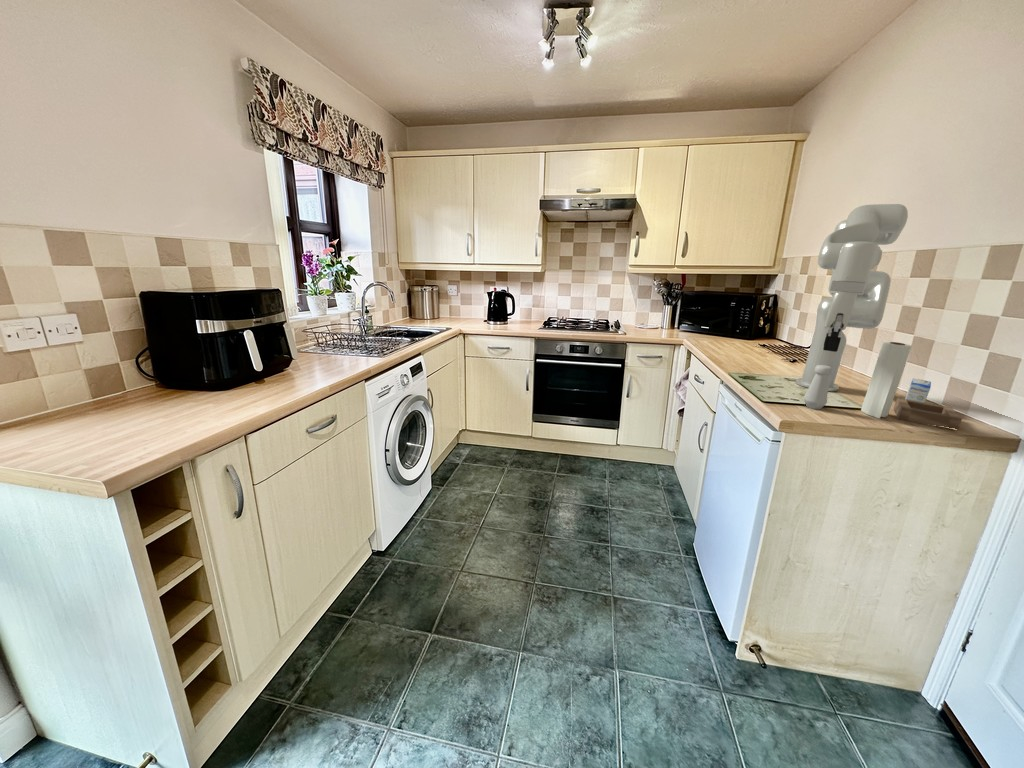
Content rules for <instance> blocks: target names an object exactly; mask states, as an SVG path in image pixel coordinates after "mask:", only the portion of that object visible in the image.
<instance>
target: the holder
mask: <svg viewBox="0 0 1024 768" xmlns="http://www.w3.org/2000/svg"><path fill="white" fill-rule="evenodd" d="M893 411H894V412H895V413H894V414H895V415H896V417H897V419H898V420H899V421H900V420H901V421H904V422H905V421H906V422H910V421H912V422H911V423H915V422H916V423H917V424H920V423H923V424H922V425H925V424H929V425H928V426H930V425H936V426H944V427H949V428H955V429H958V430H959V427H960V425H961V423H962V420H963V418H962V417H961V416H960V415H959V414H958V413H957V412H956V410H955V409H954V408H953V407H950V406H945V405H940V404H931V403H929V402H925V403H923V402H917V401H911V400H906V399H905V398H904V399H903V398H900V397H897V398H896V400H895V403H894V406H893Z"/></svg>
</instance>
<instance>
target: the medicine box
mask: <svg viewBox="0 0 1024 768" xmlns="http://www.w3.org/2000/svg"><path fill="white" fill-rule="evenodd" d="M909 384H910V385H909V387H908V390H907V393H906V395H905V398H904V399H906V400H911V401H917V402H923V403H926V401H927V397H928V396H929V393H930V391H931V387H932V386H931V385H932V381H930V380H925V379H919V378H912V380H911V382H910V383H909Z"/></svg>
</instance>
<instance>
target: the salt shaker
mask: <svg viewBox="0 0 1024 768" xmlns="http://www.w3.org/2000/svg"><path fill="white" fill-rule="evenodd" d="M815 372H816V374H815V376H814V378H813V380H812V382H811V384H810V386H809V388H807V390H806V392H805V395H804V396H803V401H804V405H805V404H806V406H807V408H808V407H809V409H813V410H821V409H822V408H823V407H824V406H825V405H827V403H828V394H829V393H828V392H829V391H828V380H829V375H831V374H832V372H833V368H832V367H830V366H826V365H817V366H816V367H815ZM806 406H805V407H806Z"/></svg>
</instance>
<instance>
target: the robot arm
mask: <svg viewBox="0 0 1024 768" xmlns="http://www.w3.org/2000/svg"><path fill="white" fill-rule="evenodd" d="M908 215H909V213H908V209H907V207H906V206H905V205H904V204H900V203H887V204H886V203H884V204H883V203H880V204H875V203H874V204H864V205H859V206H857V207H856V208H854V209H853V210H852V211H850V213H849V214H848V216H847V219H845V220H841V221H840V222H838V224H836V226H835V228H834V231H832V232H831V233H830V234H828V236H827V237H825V239H824V241H823V242H822V245H821V247H820V251H819V252H818V256H817V265H818V266H819V268H821V269H823V270H832V273H831V275H830V276H831V277H830V280H829V286H828V292H829V295H831V297H827V298H826V297H825V298H824V299H822V300H821V301H820V302H819V303H818V306H817V309H816V317H815V318H816V319H815V320H816V321H815V327H814V331H813V335H812V340H811V344H810V346H809V347H810V348H809V351H808V354H807V357H806V361H805V366H804V369H803V372H802V376H801V377H799V378H797V379H795V383H796V384H797V385H799V386H801V387H803V388H807V389H808V388H809V386H810V384H811V382H812V380H813V378H814V376H815V374H816V372H815V367H816V366H817V365H826V366H830V367H832V368H833V372H832V374H831V375H829V380H828V392H836V391H838V390H839V387H840V386H838V385H837V384H835V381H836V379H837V375H838V373H839V372H838V371H839V368H840V365H841V362H842V359H843V355H844V352H845V348H846V345H847V336H846V334H845V333H844V330H846V328H856V329H862V330H863V329H865V330H870V329H871V330H873V329H875V328H877V327H878V326H879V325H881V323H882V320H883V318H884V315H885V310H886V305H887V300H888V296H889V294H890V293H889V292H890V287H891V275H890V274H889V273H887V272H885V271H879V270H874V269H875V268H876V267H877V266H878V265H879V264H880V263H881V261H882V257H883V249H881V247H880V246H885V245H886V246H887V245H891V244H893V243H895V242H896V241H897V240H898V238H899V236H900V235H901V233H902V231H903V230H904V228H905V226H906V223H907V221H908V218H909V217H908ZM879 245H880V246H879Z"/></svg>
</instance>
